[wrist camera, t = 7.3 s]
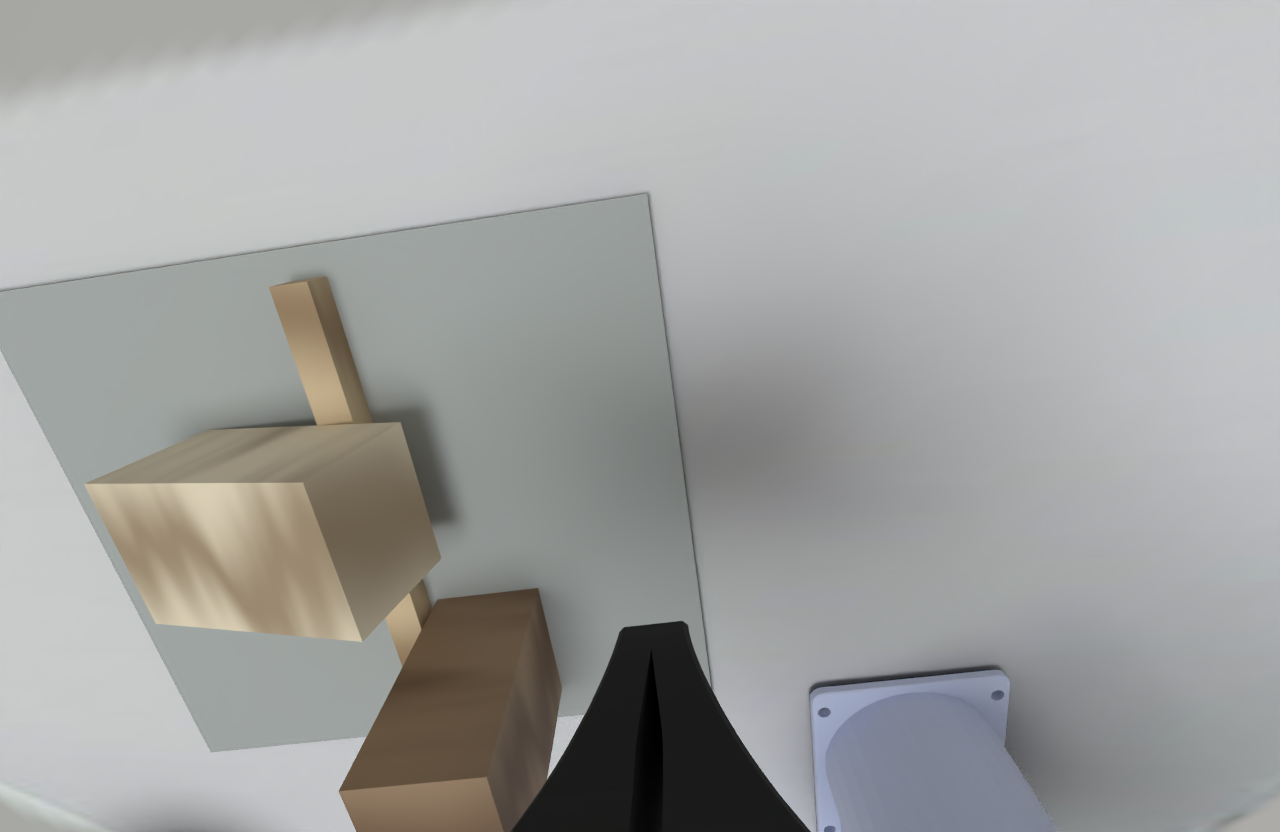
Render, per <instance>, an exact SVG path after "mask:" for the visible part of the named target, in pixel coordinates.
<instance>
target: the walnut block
mask: <svg viewBox="0 0 1280 832" xmlns="http://www.w3.org/2000/svg"><path fill="white" fill-rule="evenodd" d="M561 692H562V686H561V681H560V677H559V673H558V669H557V665H556V661H555V656H554V652H553V648H552V644H551V640H550V636H549V631H548V627H547V623H546V619H545V615H544V611H543V606H542V602H541V598H540V594H539V590H538V588H533V589H524V590H516V591H507V592H498V593H489V594H481V595H472V596H463V597H454V598H446V599H437V601H436V603H435V605H434V607H433V608H432V610H431V612H430V614H429V616H428V618H427V620H426V622H425V624H424V626H423V628H422V630H421V632H420V634H419V636H418V638H417V640H416V642H415V644H414V646H413V648H412V649H411V651H410V653H409V655H408V657H407V659H406V661H405V663H404V665H403V667H402V669H401V671H400V673H399V675H398V677H397V679H396V681H395V683H394V685H393V687H392V689H391V690H390V692H389V694H388V696H387V698H386V700H385V702H384V704H383V706H382V708H381V710H380V712H379V714H378V716H377V718H376V720H375V722H374V724H373V726H372V728H371V730H370V731H369V733H368V735H367V737H366V739H365V741H364V743H363V745H362V747H361V749H360V751H359V753H358V755H357V757H356V759H355V761H354V763H353V765H352V767H351V769H350V771H349V772H348V774H347V776H346V778H345V780H344V782H343V784H342V786H341V788H340V790H339V793H340V795H341V797H342V800H343V802H344V804H345V807H346V809H347V811H348V813H349V816H350V818H351V820H352V823H353V825H354V827H355V829H356V832H510V831H511V830H512V828H513V827H514V826H515V825H516V823H517V822H518V821H519V819H520V818H521V816H522V815H523V814H524V812H525V811H526V809H527V808H528V807H529V805H530V804H531V803H532V801H533V800H534V798H535V797H536V796H537V794H538V793H539V791H540V790H541V788H542V787H543V785H544V784H545V782H546V781H547V775H548V769H549V763H550V757H551V752H552V746H553V740H554V734H555V728H556V722H557V716H558V710H559V704H560V698H561Z"/></svg>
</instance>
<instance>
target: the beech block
mask: <svg viewBox="0 0 1280 832" xmlns="http://www.w3.org/2000/svg"><path fill="white" fill-rule="evenodd" d="M84 485H85V487H86V489H87V491H88V493H89V495H90V497H91V499H92V501H93V503H94V505H95V507H96V509H97V510H98V512H99V514H100V516H101V518H102V520H103V522H104V524H105V526H106V528H107V530H108V532H109V534H110V536H111V538H112V540H113V542H114V543H115V545H116V547H117V549H118V551H119V553H120V555H121V557H122V559H123V561H124V563H125V565H126V567H127V569H128V571H129V573H130V575H131V577H132V578H133V580H134V582H135V584H136V586H137V588H138V590H139V592H140V594H141V596H142V598H143V600H144V602H145V604H146V606H147V608H148V610H149V611H150V613H151V615H152V617H153V619H154V621H155V623H156V624H164V625H176V626H187V627H199V628H210V629H221V630H233V631H244V632H256V633H267V634H278V635H290V636H301V637H312V638H324V639H335V640H347V641H358V642H363V641H364V640H365V639H366V638H367V637H368V636H369V635H370V633H371V632H372V631H373V630H374V629H375V628H376V627H377V626H378V625H379V624H380V623H381V622H382V621H383V620H384V619H385V618H386V617H387V616H388V615H389V613H390V612H391V611H392V610H393V609H394V608H395V607H396V606H397V605H398V604H399V603H400V602H401V601H402V600H403V599H404V598H405V597H406V596H407V595H408V593H409V592H410V591H411V590H412V589H413V588H414V587H415V586H416V585H417V584H418V583H419V582H420V581H421V580H422V579H423V578H424V577H425V576H426V574H427V573H428V572H429V571H430V570H431V569H432V568H433V567H434V566H435V565H436V564H437V563H438V562H439V561H440V560H441V555H440V552H439V549H438V545H437V542H436V539H435V535H434V532H433V529H432V526H431V522H430V519H429V516H428V512H427V509H426V506H425V502H424V499H423V496H422V492H421V489H420V486H419V482H418V479H417V476H416V472H415V469H414V466H413V462H412V459H411V456H410V452H409V449H408V446H407V442H406V439H405V436H404V432H403V429H402V426H401V422H391V423H366V424H341V425H317V426H292V427H267V428H243V429H218V430H206V431H204V432H202V433H199V434H197V435H195V436H193V437H190V438H188V439H186V440H183V441H181V442H179V443H177V444H174V445H172V446H170V447H167V448H165V449H163V450H160V451H158V452H156V453H154V454H151V455H149V456H147V457H144V458H142V459H140V460H138V461H135V462H133V463H131V464H128V465H126V466H124V467H121V468H119V469H117V470H115V471H112V472H110V473H108V474H105V475H103V476H101V477H99V478H96V479H94V480H92V481H89V482H87V483H85V484H84Z"/></svg>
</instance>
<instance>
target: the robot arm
mask: <svg viewBox="0 0 1280 832" xmlns="http://www.w3.org/2000/svg"><path fill="white" fill-rule="evenodd" d="M994 691H996V692H994ZM1009 694H1010V680H1009V678H1008V677H1007V676H1006V674H1005V673H1004V672H1003V671H1000V670H987V671H977V672H968V673H958V674H948V675H938V676H928V677H918V678H909V679H899V680H889V681H879V682H869V683H859V684H850V685H840V686H830V687H821V688H817V689H815V690H814V691H812V693H811V694H810V714H811V732H812V749H813V766H814V784H815V801H816V818H817V832H1059V830H1058V829H1057V827H1056V826H1055V824H1054V823H1053V821H1052V820H1051V818H1050V816H1049V815H1048V813H1047V812H1046V810H1045V809H1044V807H1043V806H1042V804H1041V802H1040V801H1039V799H1038V798H1037V796H1036V795H1035V793H1034V792H1033V790H1032V789H1031V787H1030V785H1029V784H1028V782H1027V781H1026V779H1025V778H1024V776H1023V775H1022V773H1021V771H1020V770H1019V768H1018V767H1017V765H1016V764H1015V762H1014V761H1013V759H1012V757H1011V756H1010V754H1009V753H1008V751H1007V750H1006V748H1005V738H1006V727H1007V716H1008V705H1009ZM821 708H826V709H823V710H820V709H821ZM510 832H810V830H809V829H808V828H807V827H806V826H805V824H804V823H803V822H802V821H801V820H800V819H799V817H798V816H797V815H796V814H795V813H794V811H793V810H792V809H791V808H790V807H789V805H788V804H787V803H786V802H785V801H784V800H783V798H782V797H781V796H780V795H779V793H778V792H777V791H776V789H775V788H774V787H773V785H772V784H771V783H770V781H769V780H768V779H767V777H766V776H765V775H764V773H763V772H762V770H761V769H760V768H759V766H758V765H757V763H756V762H755V761H754V759H753V758H752V756H751V755H750V753H749V752H748V750H747V749H746V747H745V746H744V744H743V743H742V741H741V740H740V738H739V736H738V735H737V733H736V732H735V730H734V728H733V727H732V725H731V723H730V722H729V720H728V718H727V717H726V715H725V713H724V711H723V710H722V708H721V706H720V704H719V702H718V700H717V698H716V696H715V695H714V693H713V691H712V689H711V687H710V685H709V683H708V681H707V679H706V677H705V674H704V672H703V670H702V668H701V665H700V663H699V661H698V658H697V656H696V653H695V650H694V647H693V644H692V641H691V637H690V633H689V627H688V624H686V623H685V622H683V621H676V622H666V623H657V624H648V625H639V626H630V627H624V628H623V629H622V630H621V631H620V632H619V635H618V638H617V641H616V644H615V647H614V650H613V653H612V655H611V658H610V661H609V663H608V666H607V668H606V670H605V673H604V675H603V678H602V680H601V682H600V684H599V686H598V688H597V691H596V693H595V695H594V697H593V699H592V701H591V703H590V706H589V708H588V710H587V712H586V714H585V716H584V717H583V719H582V721H581V723H580V725H579V727H578V728H577V730H576V732H575V734H574V736H573V738H572V739H571V741H570V743H569V745H568V747H567V748H566V750H565V752H564V754H563V755H562V757H561V759H560V760H559V762H558V764H557V765H556V767H555V768H554V770H553V772H552V773H551V775H550V776H549V778H548V779H547V781H546V782H545V784H544V785H543V787H542V788H541V790H540V791H539V793H538V794H537V796H536V797H535V798H534V800H533V801H532V803H531V804H530V805H529V807H528V808H527V809H526V811H525V812H524V814H523V815H522V816H521V818H520V819H519V821H518V822H517V823H516V825H515V826H514V827H513V828H512V830H511V831H510Z"/></svg>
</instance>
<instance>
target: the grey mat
mask: <svg viewBox="0 0 1280 832" xmlns="http://www.w3.org/2000/svg"><path fill="white" fill-rule="evenodd" d="M324 276H327V278H328V281H329V285H330V288H331V291H332V294H333V297H334V300H335V303H336V307H337V310H338V313H339V316H340V319H341V322H342V326H343V329H344V332H345V335H346V338H347V341H348V344H349V348H350V351H351V354H352V357H353V360H354V363H355V367H356V370H357V373H358V376H359V379H360V382H361V385H362V389H363V392H364V395H365V398H366V401H367V404H368V408H369V411H370V414H371V417H372V420H373V423H391V422H401V426H402V429H403V432H404V436H405V439H406V442H407V446H408V449H409V452H410V456H411V459H412V462H413V466H414V469H415V472H416V476H417V479H418V482H419V486H420V489H421V492H422V496H423V499H424V502H425V506H426V509H427V512H428V516H429V519H430V522H431V526H432V529H433V532H434V535H435V539H436V542H437V545H438V549H439V552H440V555H441V560H440V561H439V562H438V563H437V564H436V565H435V566H434V567H433V568H432V569H431V570H430V571H429V572H428V573H427V574H426V576H425V577H424V578H423V581H424V584H425V587H426V591H427V594H428V597H429V600H430V603H431V606H432V608H433V607H434V605H435V603H436V601H437V599H446V598H454V597H463V596H472V595H481V594H489V593H498V592H507V591H516V590H524V589H533V588H538V590H539V594H540V598H541V602H542V606H543V611H544V615H545V619H546V623H547V627H548V631H549V636H550V640H551V644H552V648H553V652H554V656H555V661H556V665H557V669H558V673H559V677H560V681H561V686H562V692H561V698H560V704H559V710H558V716H557V717H563V716H573V715H583V714H586V712H587V710H588V708H589V706H590V703H591V701H592V699H593V697H594V695H595V693H596V691H597V688H598V686H599V684H600V682H601V680H602V678H603V675H604V673H605V670H606V668H607V666H608V663H609V661H610V658H611V655H612V653H613V650H614V647H615V644H616V641H617V638H618V635H619V632H620V631H621V630H622V629H623V628H624V627H630V626H639V625H648V624H657V623H666V622H676V621H683V622H685V623H686V624H688V627H689V633H690V637H691V641H692V644H693V647H694V650H695V653H696V656H697V658H698V661H699V663H700V665H701V668H702V670H703V672H704V674H705V677H706V679H707V681H708V683H709V685H710V687H711V682H710V674H709V666H708V658H707V651H706V643H705V635H704V628H703V620H702V612H701V605H700V597H699V589H698V581H697V574H696V566H695V558H694V551H693V543H692V535H691V528H690V520H689V512H688V504H687V497H686V489H685V481H684V474H683V466H682V458H681V450H680V443H679V435H678V427H677V420H676V412H675V404H674V397H673V389H672V381H671V373H670V366H669V358H668V350H667V343H666V335H665V327H664V320H663V312H662V304H661V296H660V289H659V281H658V273H657V266H656V258H655V250H654V243H653V235H652V227H651V219H650V212H649V204H648V196H647V194H641V195H634V196H628V197H621V198H615V199H608V200H602V201H595V202H588V203H582V204H575V205H569V206H562V207H555V208H549V209H542V210H536V211H529V212H522V213H516V214H509V215H503V216H496V217H489V218H483V219H476V220H470V221H463V222H456V223H450V224H443V225H437V226H430V227H424V228H417V229H410V230H404V231H397V232H391V233H384V234H377V235H371V236H364V237H358V238H351V239H344V240H338V241H331V242H325V243H318V244H311V245H305V246H298V247H292V248H285V249H278V250H272V251H265V252H259V253H252V254H246V255H239V256H232V257H226V258H219V259H213V260H206V261H199V262H193V263H186V264H180V265H173V266H166V267H160V268H153V269H147V270H140V271H133V272H127V273H120V274H114V275H107V276H100V277H94V278H87V279H81V280H74V281H68V282H61V283H54V284H48V285H41V286H35V287H28V288H21V289H15V290H8V291H2V292H0V350H1V352H2V354H3V356H4V358H5V360H6V362H7V364H8V365H9V367H10V369H11V371H12V373H13V375H14V377H15V379H16V381H17V383H18V385H19V387H20V388H21V390H22V392H23V394H24V396H25V398H26V400H27V402H28V404H29V406H30V408H31V409H32V411H33V413H34V415H35V417H36V419H37V421H38V423H39V425H40V427H41V429H42V430H43V432H44V434H45V436H46V438H47V440H48V442H49V444H50V446H51V448H52V450H53V451H54V453H55V455H56V457H57V459H58V461H59V463H60V465H61V467H62V469H63V471H64V472H65V474H66V476H67V478H68V480H69V482H70V484H71V486H72V488H73V490H74V492H75V493H76V495H77V497H78V499H79V501H80V503H81V505H82V507H83V509H84V511H85V513H86V515H87V516H88V518H89V520H90V522H91V524H92V526H93V528H94V530H95V532H96V534H97V536H98V537H99V539H100V541H101V543H102V545H103V547H104V549H105V551H106V553H107V555H108V557H109V558H110V560H111V562H112V564H113V566H114V568H115V570H116V572H117V574H118V576H119V578H120V579H121V581H122V583H123V585H124V587H125V589H126V591H127V593H128V595H129V597H130V599H131V600H132V602H133V604H134V606H135V608H136V610H137V612H138V614H139V616H140V618H141V620H142V621H143V623H144V625H145V627H146V629H147V631H148V633H149V635H150V637H151V639H152V641H153V642H154V644H155V646H156V648H157V650H158V652H159V654H160V656H161V658H162V660H163V662H164V664H165V665H166V667H167V669H168V671H169V673H170V675H171V677H172V679H173V681H174V683H175V685H176V686H177V688H178V690H179V692H180V694H181V696H182V698H183V700H184V702H185V704H186V706H187V707H188V709H189V711H190V713H191V715H192V717H193V719H194V721H195V723H196V725H197V727H198V728H199V730H200V732H201V734H202V736H203V738H204V740H205V742H206V744H207V746H208V748H209V749H210V751H211V752H219V751H228V750H238V749H248V748H258V747H268V746H278V745H288V744H297V743H307V742H317V741H327V740H337V739H347V738H357V737H366V736H367V735H368V733H369V731H370V730H371V728H372V726H373V724H374V722H375V720H376V718H377V716H378V714H379V712H380V710H381V708H382V706H383V704H384V702H385V700H386V698H387V696H388V694H389V692H390V690H391V689H392V687H393V685H394V683H395V681H396V679H397V677H398V675H399V673H400V671H401V669H402V665H401V662H400V659H399V656H398V653H397V650H396V647H395V645H394V642H393V639H392V636H391V633H390V630H389V628H388V625H387V622H386V619H384V620H383V621H382V622H381V623H380V624H379V625H378V626H377V627H376V628H375V629H374V630H373V631H372V632H371V633H370V635H369V636H368V637H367V638H366V639H365V640H364V641H363V642H358V641H347V640H335V639H324V638H312V637H301V636H290V635H278V634H267V633H256V632H244V631H233V630H221V629H210V628H199V627H187V626H176V625H164V624H156V623H155V621H154V619H153V617H152V615H151V613H150V611H149V610H148V608H147V606H146V604H145V602H144V600H143V598H142V596H141V594H140V592H139V590H138V588H137V586H136V584H135V582H134V580H133V578H132V577H131V575H130V573H129V571H128V569H127V567H126V565H125V563H124V561H123V559H122V557H121V555H120V553H119V551H118V549H117V547H116V545H115V543H114V542H113V540H112V538H111V536H110V534H109V532H108V530H107V528H106V526H105V524H104V522H103V520H102V518H101V516H100V514H99V512H98V510H97V509H96V507H95V505H94V503H93V501H92V499H91V497H90V495H89V493H88V491H87V489H86V487H85V485H84V484H85V483H87V482H89V481H92V480H94V479H96V478H99V477H101V476H103V475H105V474H108V473H110V472H112V471H115V470H117V469H119V468H121V467H124V466H126V465H128V464H131V463H133V462H135V461H138V460H140V459H142V458H144V457H147V456H149V455H151V454H154V453H156V452H158V451H160V450H163V449H165V448H167V447H170V446H172V445H174V444H177V443H179V442H181V441H183V440H186V439H188V438H190V437H193V436H195V435H197V434H199V433H202V432H204V431H206V430H218V429H243V428H267V427H292V426H317V423H316V420H315V417H314V415H313V412H312V409H311V406H310V403H309V400H308V398H307V395H306V392H305V389H304V386H303V383H302V381H301V378H300V375H299V372H298V369H297V366H296V363H295V361H294V358H293V355H292V352H291V349H290V346H289V344H288V341H287V338H286V335H285V332H284V329H283V327H282V324H281V321H280V318H279V315H278V312H277V310H276V307H275V304H274V301H273V298H272V295H271V293H270V290H269V287H271V286H275V285H279V284H283V283H287V282H291V281H297V280H304V279H311V278H317V277H324Z"/></svg>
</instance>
